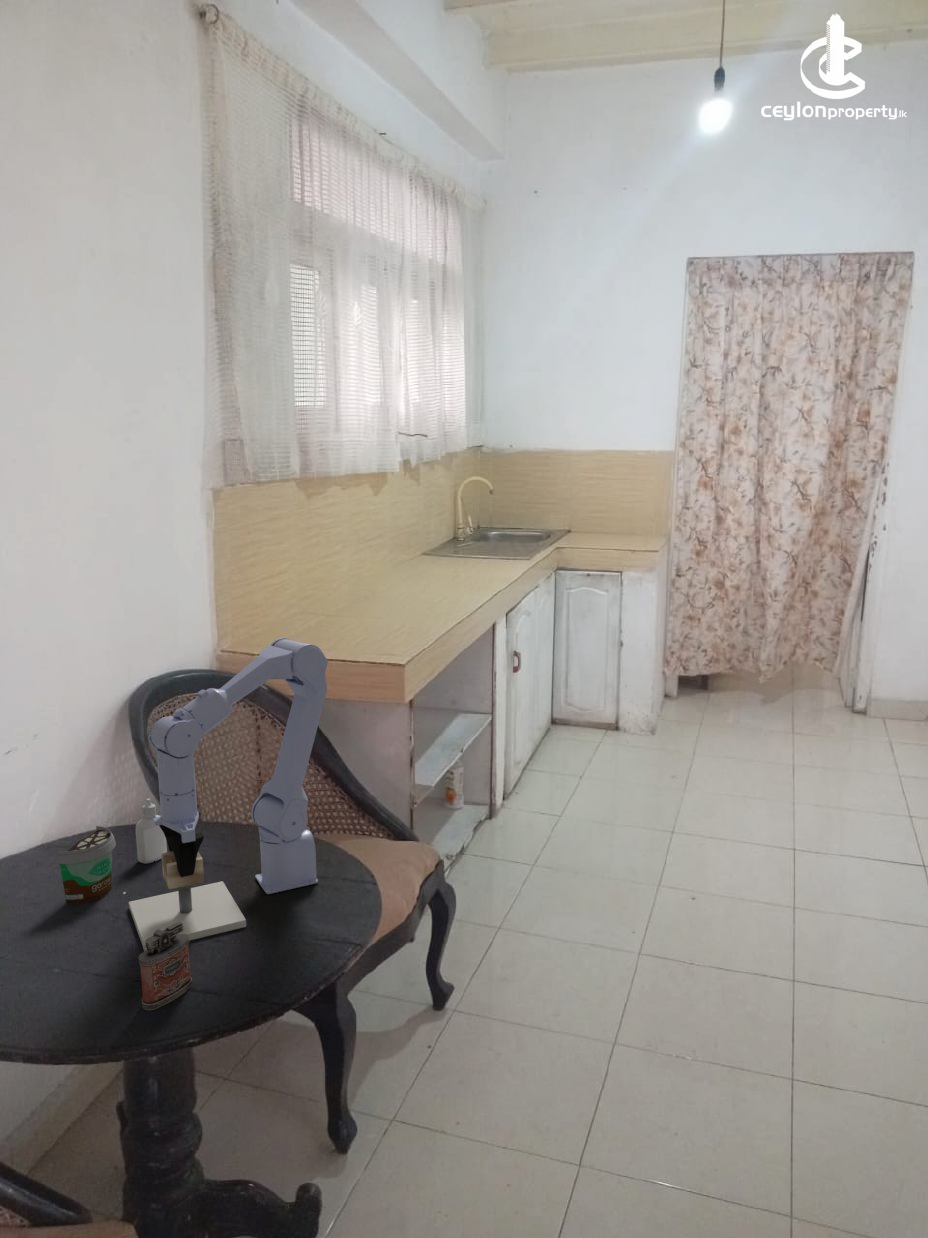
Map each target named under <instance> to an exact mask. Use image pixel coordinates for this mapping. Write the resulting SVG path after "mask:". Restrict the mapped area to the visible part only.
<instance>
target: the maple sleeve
mask: <svg viewBox="0 0 928 1238" xmlns="http://www.w3.org/2000/svg"><path fill="white" fill-rule="evenodd" d="M161 856H162V858H161V867H162V869H161V870H162V877H163V879H164V881H165V884H166V887H167V888H168V890H173V889H177V888H179V887H183V886H191V885H196V884H200V883H204V882H205V873H204V872H205V871H204V860H203V859H204V858H203V857H202V856H201V853H200V852H199V851H198V853H197V858H196V865H195V870H194V874H193V875H190V876H185V877H181V876H180V874H179V872H178V868H177V864H176V860H175V856H174V853H173V851H171V852H170V851H167V852H166V853H161Z"/></svg>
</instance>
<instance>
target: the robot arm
mask: <svg viewBox="0 0 928 1238" xmlns="http://www.w3.org/2000/svg"><path fill="white" fill-rule="evenodd" d="M328 664H329V661H328V658H327V657H326V656H325V654H324V652H323V651H322V650H321V648H320V647H319V646H317V645H315V644H313V643H312V644H311V643H304V642H300V641H295V640H292V639H290V638H287V637H280V638H277V639H275V640H274V641H273V642H271V643H270V645H266V646H264V648H262V650H261V652H260V653H259V655H258V656H257V657H256V658H254V660H252V661H251V662H250V663H249V664H248V665H246V666H245V667H244V668H243V669H242V670H241V671H239V672H238V673H237V674H235V675H234V676H233V677H232V678H231V679H230V680H228V681H227V682H226V683H224V684H223V685H222V686H221V687H220V688H214V687H212V688H211V687H210V688H207V689H206V690H205V689H201V690H199V691H198V692H197V693H196V696H197V697H195V698H194V699H192V700H191V701H189V702H188V703H187V704H186V705H185V706H183V707H181V708H177V709H175V710H174V712H173V716H172V715H169V716H164V717H161V718H159V719H158V720H157V721H156V722H155V724H154V725H153V727H152V728H151V731H150V734H149V735H148V741H149V743H150V744H151V746H152V747H153V748H154V749H155V751H156V761H157V762H156V763H157V779H158V790H159V803H160V805H159V806H160V815H159V816H160V817H156V818H154V824H155V825H159V827H160V828H161V829H162V831H163V833H164V835H165V837H166V844H167V848H168V850H169V851H168V852H171V851H173V853H174V856H175V860H176V864H177V868H178V872H179V874H180V876H181V877H185V876H190V875H193V874H194V870H195V865H196V858H197V853H198V852H199V850H200V847H201V845H202V843H203V842H204V838H205V837H204V836H205V835H204V833H203V832H196V826H197V824H198V822H199V819H200V814H199V811H198V800H197V785H196V772H195V771H196V770H195V758H194V757H195V756H194V755H195V754H194V753H195V751H196V750H197V749H198V747H199V746H200V741H201V739H202V738H204V736H205V735H207V734H208V733H209V732H211V731H212V730H213V729H214V728H217V726H219V725H220V724H221V723H222V722H224V721H225V720H226V719H227V718H229V717H230V716H231V714H232V710H233V709H232V708H233V705H234V704H236V703H238V702H239V701H240V700H242V699H243V698H244V697H246V696H248V695H249V694H251V693H252V692H254V691H255V690H257V689H258V688H260V687H261V686H262V685H264V684H265V683H267V682H268V681H269V680H285V682H286V683H287V685H288V686H289V687H290V689H291V691H292V692H293V699H292V703H291V707H290V709H289V713H288V718H287V722H286V724H285V725H286V726H285V728H284V729H285V730H284V734H283V737H282V741H281V744H280V748H279V751H278V755H277V756H278V757H277V760H276V764H275V767H274V771H273V775H272V778H271V779H270V780H269V781H267V782H266V783H264V784H263V786H262V787H261V788H260V789H261V790H260V792H259V795H258V797H257V798H256V800H255V801H254V802H253V805H252V806H251V811H250V816H251V819H252V822H253V824H255V825H256V826H257V827H258V833H259V848H260V849H259V850H260V865H261V866H260V867H261V868H260V869H261V871H260V872H261V873H259V874H255V876H254V877H255V880H256V881H257V882H258V883H259V886H261V889H262V890H263V891H264V892H265V894H266V895H272V894H276V893H279V892H284V891H289V890H292V889H297V888H301V887H306V886H309V885H310V886H311V885H315V884H317V883H318V882H319V879H318V878H317V877H318V875H317V858H316V857H317V856H316V855H317V854H316V852H317V851H316V844H315V839H314V836H313V833H312V831H311V830H310V829H307V825H308V821H309V820H308V813H307V811H308V805H309V799H308V796H307V794H306V792H305V789H304V787H303V786H304V785H303V784H304V780H305V778H306V774H307V770H308V766H309V762H310V758H311V754H312V749H313V746H314V743H315V738H316V735H317V731H318V727H319V725H320V724H319V723H320V719H321V716H322V712H323V708H324V704H325V701H326V696H327V691H328V687H327V685H328V684H327V678H326V670H327V667H328Z"/></svg>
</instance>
